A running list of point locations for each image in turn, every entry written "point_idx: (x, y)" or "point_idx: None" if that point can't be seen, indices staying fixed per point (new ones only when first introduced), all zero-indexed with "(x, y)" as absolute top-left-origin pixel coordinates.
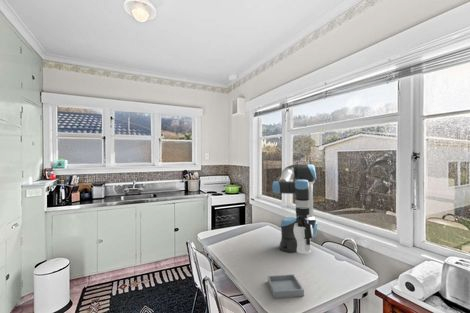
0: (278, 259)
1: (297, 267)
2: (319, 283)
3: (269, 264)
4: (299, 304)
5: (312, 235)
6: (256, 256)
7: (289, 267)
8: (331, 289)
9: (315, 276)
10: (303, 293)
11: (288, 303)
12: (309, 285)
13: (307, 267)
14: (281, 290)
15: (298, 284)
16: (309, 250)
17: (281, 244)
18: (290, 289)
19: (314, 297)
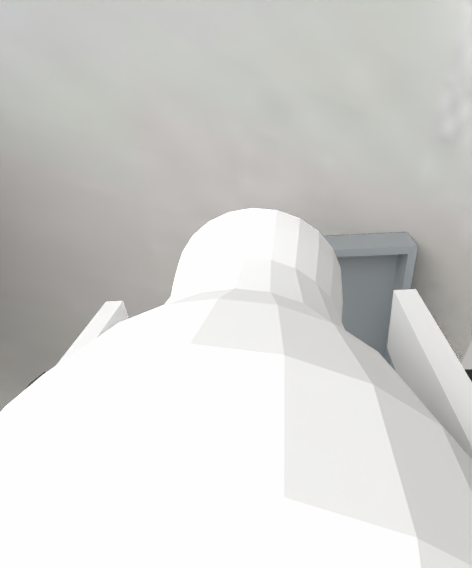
0: (9, 267)
1: (88, 178)
2: (294, 85)
3: (84, 322)
4: (469, 273)
5: (368, 366)
6: (10, 362)
7: (98, 228)
8: (383, 14)
9: (200, 82)
10: (410, 239)
11: (444, 316)
12: (310, 166)
13: (74, 103)
14: (346, 326)
15: (345, 254)
16: (324, 256)
17: None
18: (345, 286)
19: (437, 178)
